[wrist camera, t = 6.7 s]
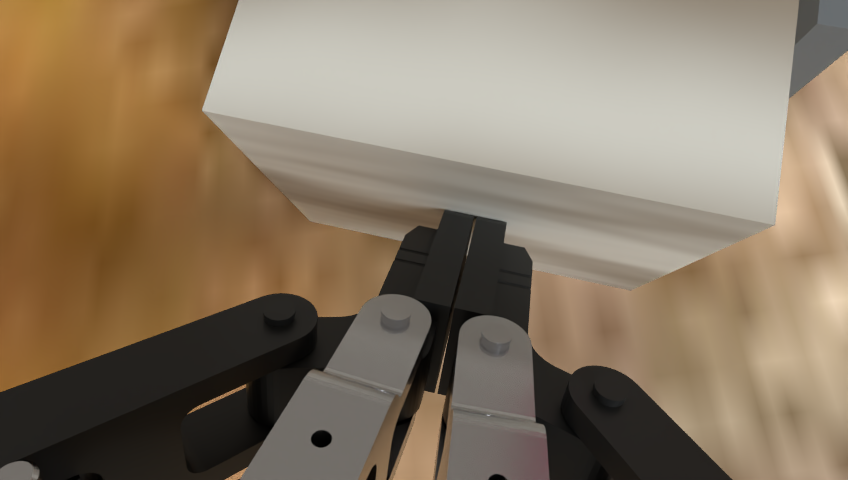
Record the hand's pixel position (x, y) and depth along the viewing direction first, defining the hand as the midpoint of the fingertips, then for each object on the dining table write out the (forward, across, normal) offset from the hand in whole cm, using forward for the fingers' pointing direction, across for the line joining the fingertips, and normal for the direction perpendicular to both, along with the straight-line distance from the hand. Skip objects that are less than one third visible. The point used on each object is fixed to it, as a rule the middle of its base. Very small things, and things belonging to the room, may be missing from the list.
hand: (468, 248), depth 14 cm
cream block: (+7, 0, -1) cm, 7 cm away
